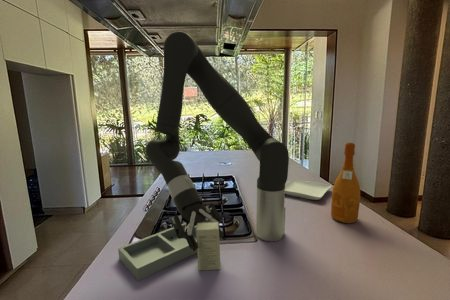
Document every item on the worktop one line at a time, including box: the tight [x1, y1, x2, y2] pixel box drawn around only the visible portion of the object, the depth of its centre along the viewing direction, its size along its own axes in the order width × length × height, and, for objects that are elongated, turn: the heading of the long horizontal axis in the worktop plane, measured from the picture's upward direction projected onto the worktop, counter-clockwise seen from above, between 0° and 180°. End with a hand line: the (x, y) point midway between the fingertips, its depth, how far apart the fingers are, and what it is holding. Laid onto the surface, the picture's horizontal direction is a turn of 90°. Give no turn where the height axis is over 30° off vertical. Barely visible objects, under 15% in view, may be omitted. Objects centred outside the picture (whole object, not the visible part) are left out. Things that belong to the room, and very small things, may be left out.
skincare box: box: [196, 222, 221, 271], centre depth 73 cm, size 6×4×12 cm
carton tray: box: [117, 222, 197, 281], centre depth 80 cm, size 25×13×4 cm, turn 132°
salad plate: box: [285, 178, 333, 201], centre depth 131 cm, size 21×21×3 cm
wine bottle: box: [330, 142, 361, 224], centre depth 99 cm, size 10×10×30 cm
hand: (208, 243), depth 72 cm, fingers open, 8 cm apart
